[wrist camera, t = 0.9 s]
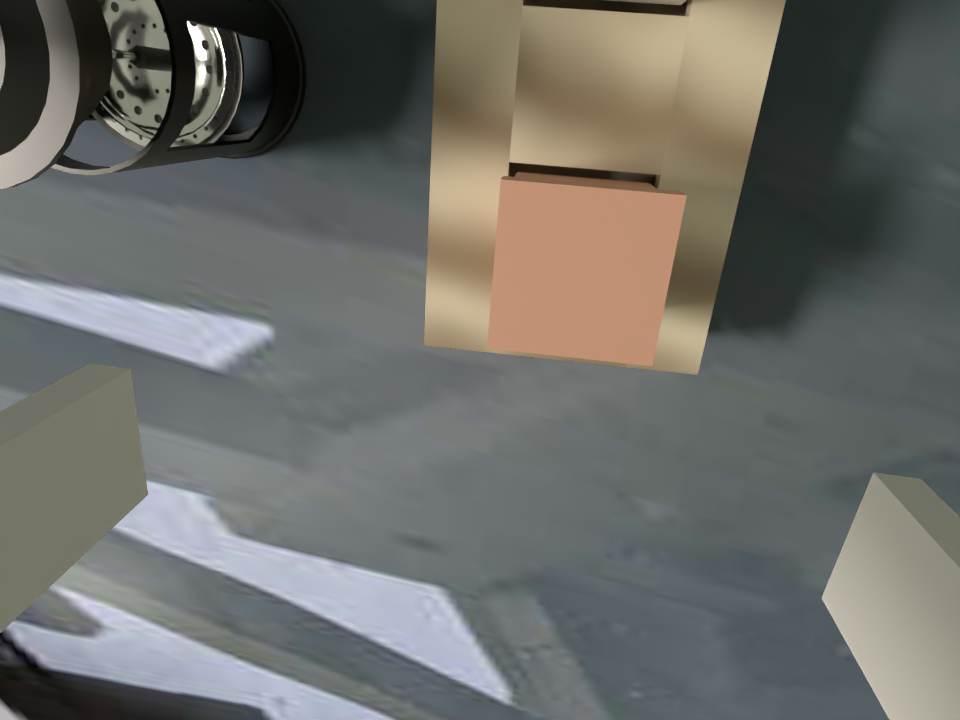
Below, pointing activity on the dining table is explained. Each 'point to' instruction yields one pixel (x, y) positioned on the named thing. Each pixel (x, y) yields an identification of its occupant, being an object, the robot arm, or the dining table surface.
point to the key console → (592, 137)
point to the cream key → (655, 1)
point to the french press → (138, 80)
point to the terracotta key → (582, 266)
